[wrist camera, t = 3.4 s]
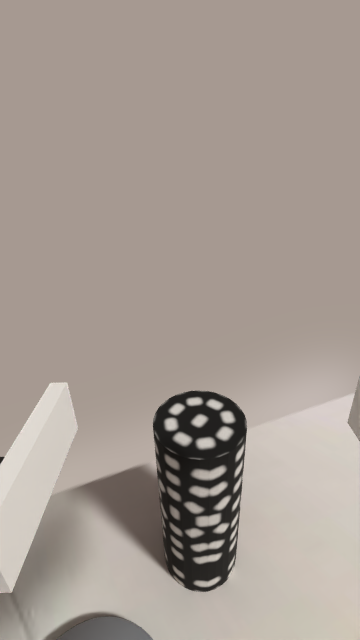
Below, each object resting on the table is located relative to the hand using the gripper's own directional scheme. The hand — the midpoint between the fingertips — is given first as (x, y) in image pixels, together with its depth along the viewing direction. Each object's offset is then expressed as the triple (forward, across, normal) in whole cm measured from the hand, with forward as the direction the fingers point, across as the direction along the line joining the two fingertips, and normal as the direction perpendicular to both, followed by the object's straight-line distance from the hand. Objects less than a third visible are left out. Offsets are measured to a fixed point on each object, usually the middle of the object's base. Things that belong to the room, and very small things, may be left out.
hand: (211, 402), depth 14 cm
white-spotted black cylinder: (+10, 0, -31) cm, 32 cm away
